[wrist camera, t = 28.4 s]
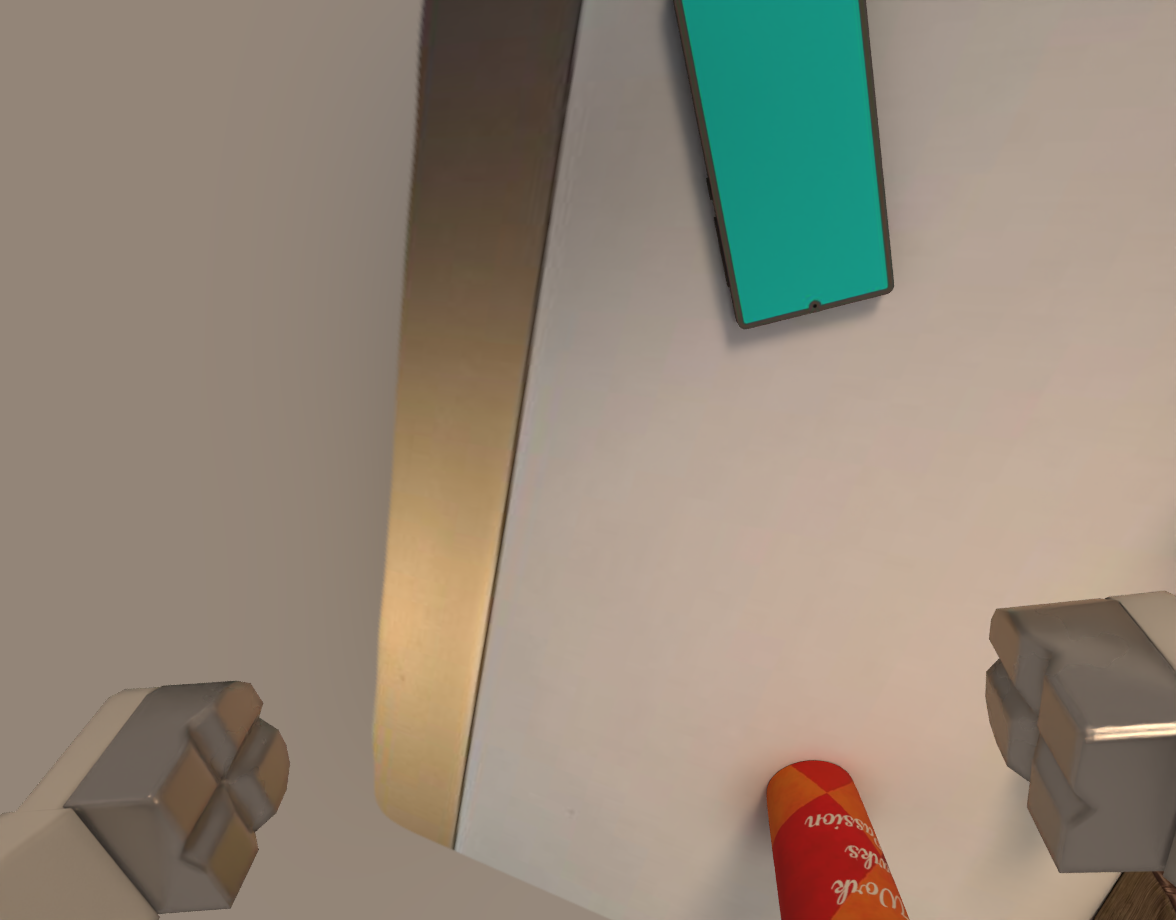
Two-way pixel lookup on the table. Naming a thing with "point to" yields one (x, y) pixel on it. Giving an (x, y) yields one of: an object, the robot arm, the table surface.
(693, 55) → the smartphone
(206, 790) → the robot arm
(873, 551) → the table surface
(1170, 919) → the hardback book
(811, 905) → the coffee cup
